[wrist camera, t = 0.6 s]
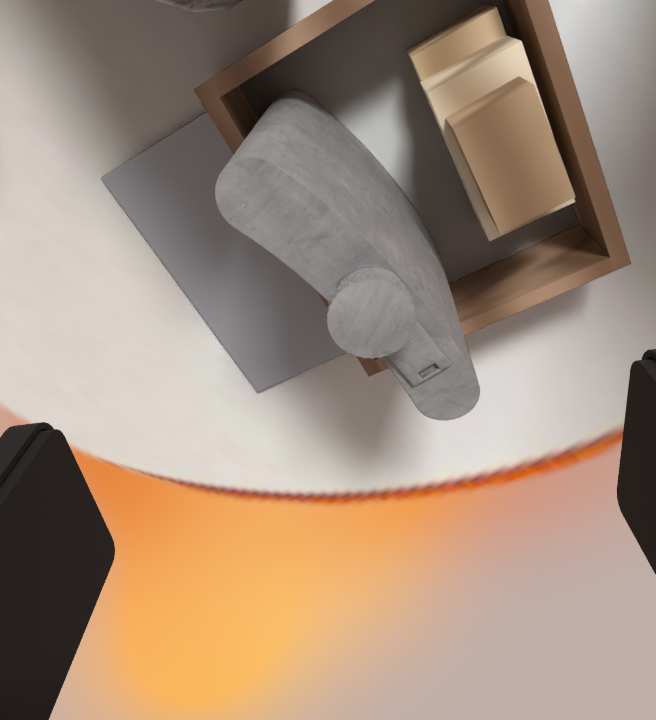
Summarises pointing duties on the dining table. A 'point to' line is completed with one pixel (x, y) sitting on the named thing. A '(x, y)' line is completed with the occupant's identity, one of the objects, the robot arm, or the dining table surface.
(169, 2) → the decorative stone tablet
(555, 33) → the wooden tray
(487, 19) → the offcut base
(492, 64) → the offcut mid
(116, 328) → the dining table surface
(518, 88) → the offcut top
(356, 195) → the hip flask
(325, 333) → the felt pad
